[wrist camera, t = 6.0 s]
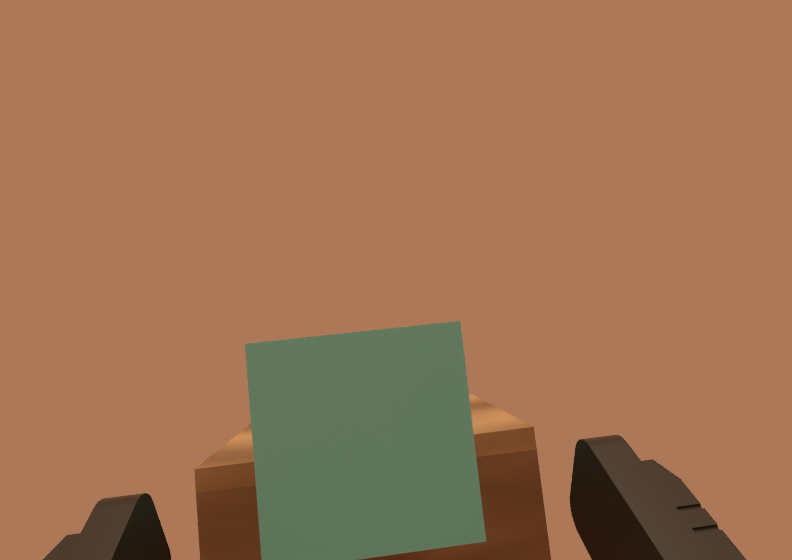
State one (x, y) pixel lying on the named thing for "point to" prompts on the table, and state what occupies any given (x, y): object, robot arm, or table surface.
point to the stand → (499, 556)
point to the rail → (363, 444)
